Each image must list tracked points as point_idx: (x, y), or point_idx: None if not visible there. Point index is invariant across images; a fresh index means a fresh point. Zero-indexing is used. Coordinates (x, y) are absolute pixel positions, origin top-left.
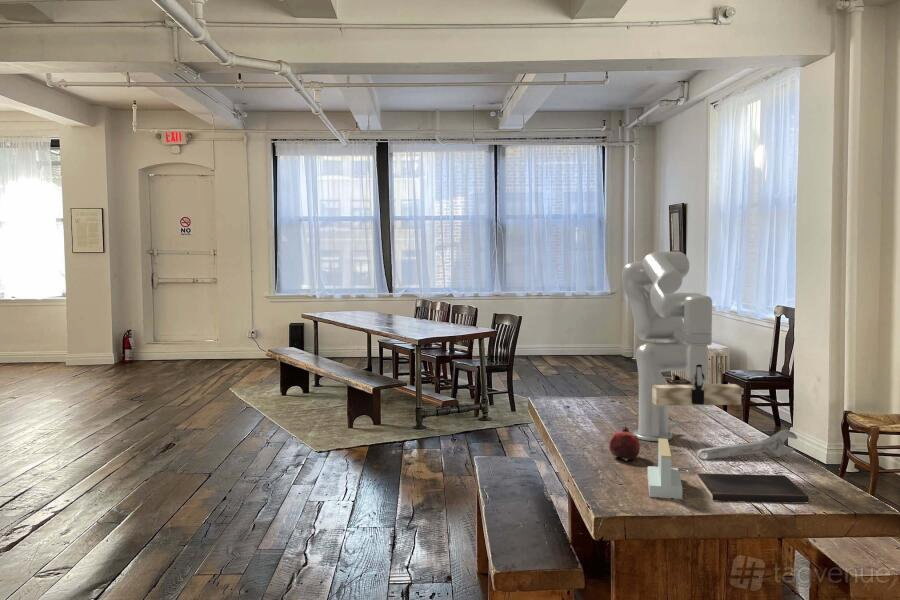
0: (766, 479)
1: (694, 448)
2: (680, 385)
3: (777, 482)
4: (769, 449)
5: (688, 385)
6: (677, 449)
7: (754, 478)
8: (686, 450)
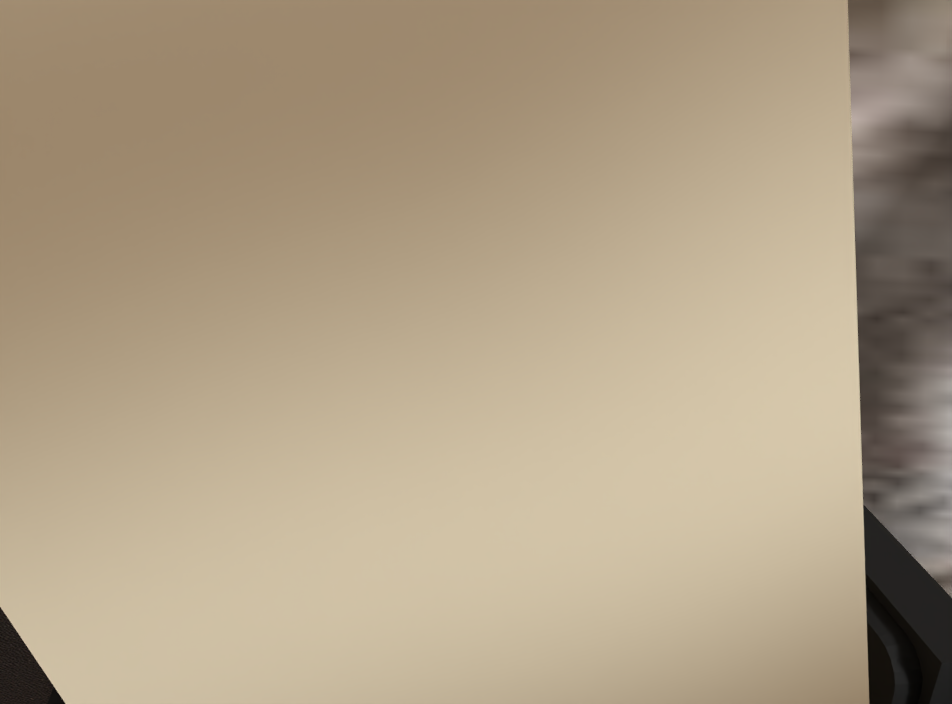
0: None
1: (927, 185)
2: (641, 362)
3: (40, 685)
4: None
5: (684, 689)
6: (903, 31)
7: None
8: (872, 113)
